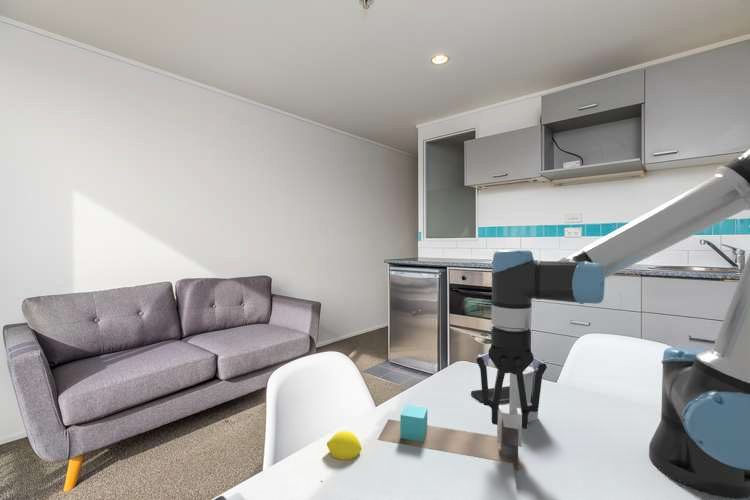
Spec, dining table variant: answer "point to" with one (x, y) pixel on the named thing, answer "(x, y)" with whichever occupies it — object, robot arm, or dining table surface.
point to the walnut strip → (464, 440)
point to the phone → (503, 398)
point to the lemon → (344, 445)
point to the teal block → (413, 423)
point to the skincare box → (514, 392)
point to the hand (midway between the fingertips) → (508, 441)
